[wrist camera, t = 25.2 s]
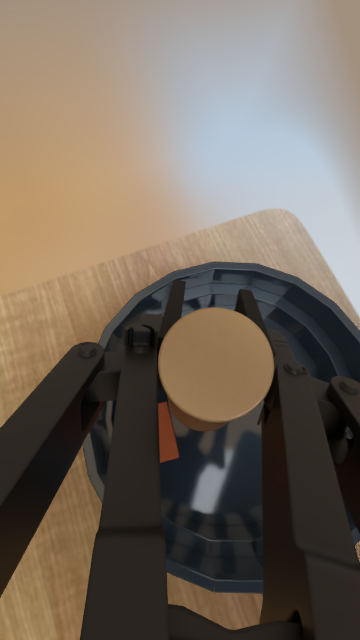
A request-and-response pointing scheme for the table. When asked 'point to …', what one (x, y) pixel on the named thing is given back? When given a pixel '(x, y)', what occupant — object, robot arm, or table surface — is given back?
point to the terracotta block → (166, 434)
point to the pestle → (214, 367)
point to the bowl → (236, 436)
